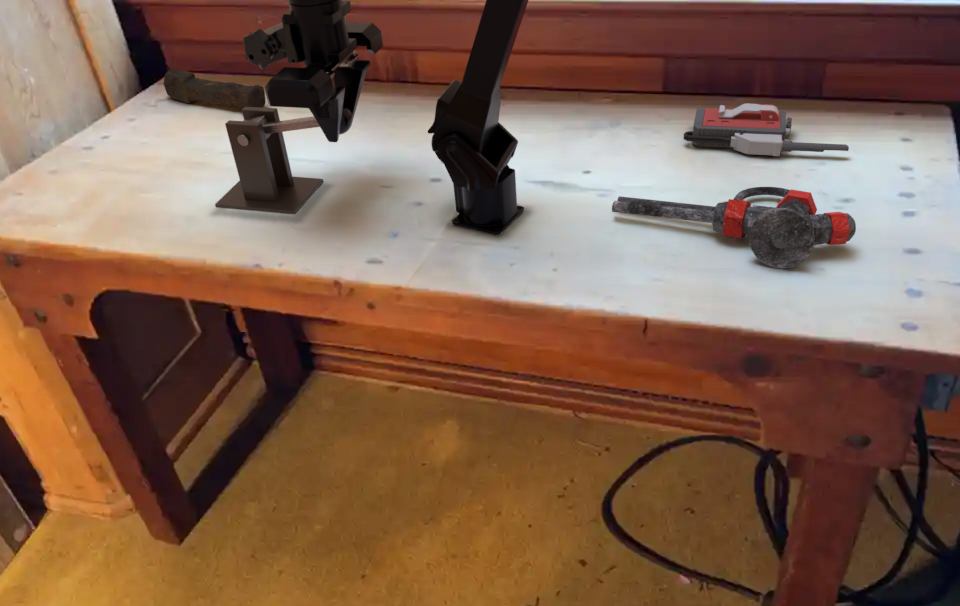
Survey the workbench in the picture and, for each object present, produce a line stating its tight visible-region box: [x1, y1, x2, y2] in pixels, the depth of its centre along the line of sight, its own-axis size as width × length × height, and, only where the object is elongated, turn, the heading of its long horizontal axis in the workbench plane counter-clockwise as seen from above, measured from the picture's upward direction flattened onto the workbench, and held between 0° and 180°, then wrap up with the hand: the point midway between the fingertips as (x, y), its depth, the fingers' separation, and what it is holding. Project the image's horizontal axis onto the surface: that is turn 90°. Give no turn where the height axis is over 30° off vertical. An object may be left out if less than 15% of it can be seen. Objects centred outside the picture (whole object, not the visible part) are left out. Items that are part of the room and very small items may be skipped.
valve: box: [611, 186, 857, 269], centre depth 100 cm, size 6×26×15 cm
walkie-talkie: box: [683, 103, 850, 157], centre depth 115 cm, size 9×4×20 cm
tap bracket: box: [214, 107, 324, 215], centre depth 111 cm, size 11×8×11 cm
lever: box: [242, 104, 354, 139], centre depth 107 cm, size 15×4×4 cm, turn 73°
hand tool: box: [163, 69, 267, 110], centre depth 140 cm, size 19×4×5 cm, turn 60°
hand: (340, 134), depth 106 cm, fingers closed on lever, 3 cm apart
